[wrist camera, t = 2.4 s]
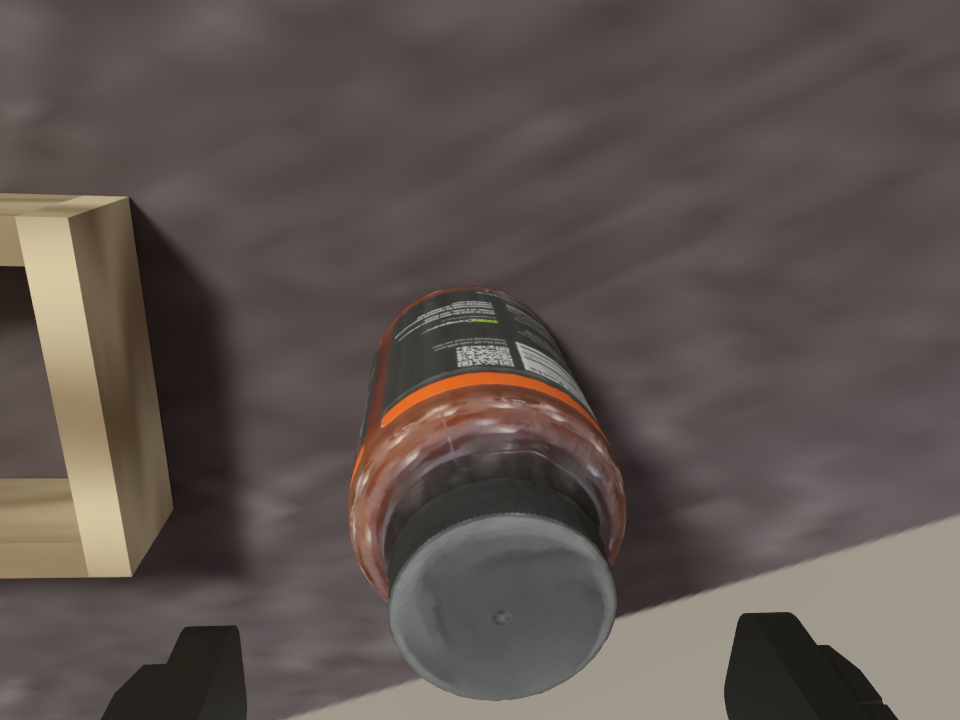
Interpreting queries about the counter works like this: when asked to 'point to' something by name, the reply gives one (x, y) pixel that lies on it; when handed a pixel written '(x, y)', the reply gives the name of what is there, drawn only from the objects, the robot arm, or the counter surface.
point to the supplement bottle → (485, 499)
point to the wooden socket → (86, 393)
